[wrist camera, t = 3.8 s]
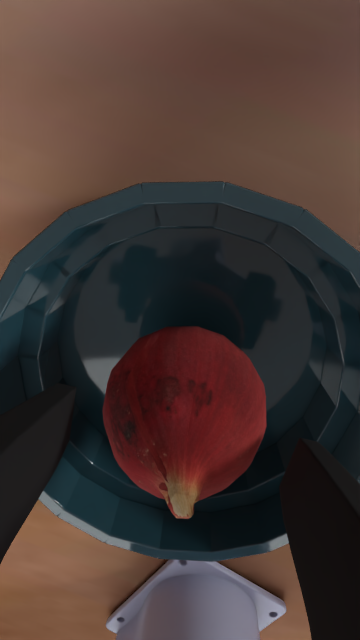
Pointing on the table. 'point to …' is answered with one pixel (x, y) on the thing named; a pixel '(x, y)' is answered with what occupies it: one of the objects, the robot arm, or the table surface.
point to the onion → (184, 414)
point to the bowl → (176, 311)
